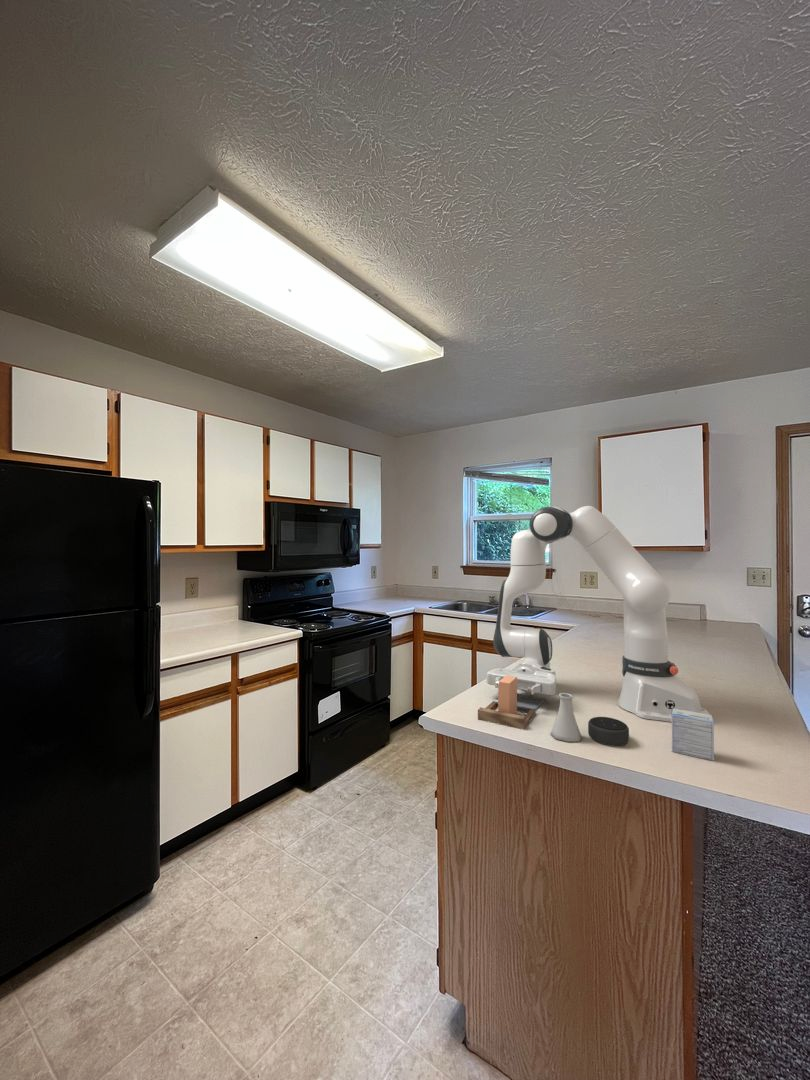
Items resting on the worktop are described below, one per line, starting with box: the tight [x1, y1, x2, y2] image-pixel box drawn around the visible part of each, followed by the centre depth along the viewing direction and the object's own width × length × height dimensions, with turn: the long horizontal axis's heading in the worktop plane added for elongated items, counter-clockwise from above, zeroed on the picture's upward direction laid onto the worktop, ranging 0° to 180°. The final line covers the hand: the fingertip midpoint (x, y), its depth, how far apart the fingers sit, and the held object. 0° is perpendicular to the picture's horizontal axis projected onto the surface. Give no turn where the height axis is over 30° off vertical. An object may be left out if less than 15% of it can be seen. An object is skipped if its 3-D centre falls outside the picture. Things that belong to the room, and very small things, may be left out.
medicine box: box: [671, 709, 715, 761], centre depth 98 cm, size 8×4×9 cm, turn 58°
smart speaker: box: [587, 716, 630, 747], centre depth 105 cm, size 9×9×4 cm
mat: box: [517, 694, 544, 711], centre depth 129 cm, size 11×9×1 cm
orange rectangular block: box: [497, 675, 518, 715], centre depth 118 cm, size 3×7×10 cm, turn 149°
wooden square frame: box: [477, 700, 537, 730], centre depth 118 cm, size 12×12×2 cm
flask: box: [550, 692, 583, 743], centre depth 106 cm, size 7×7×10 cm
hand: (513, 688), depth 123 cm, fingers open, 8 cm apart
